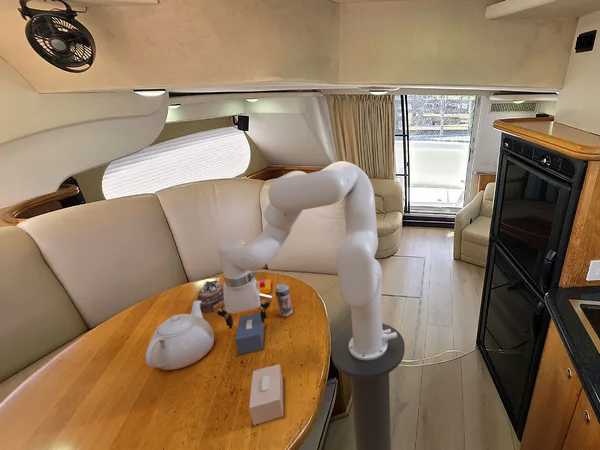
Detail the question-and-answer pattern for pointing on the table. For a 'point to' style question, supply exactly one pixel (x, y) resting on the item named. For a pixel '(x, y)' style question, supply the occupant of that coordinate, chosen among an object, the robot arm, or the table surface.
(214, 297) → the cupcake
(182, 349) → the teapot
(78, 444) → the table surface
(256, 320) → the back tissue box
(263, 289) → the orange square block
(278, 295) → the beer can
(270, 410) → the front tissue box
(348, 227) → the robot arm
